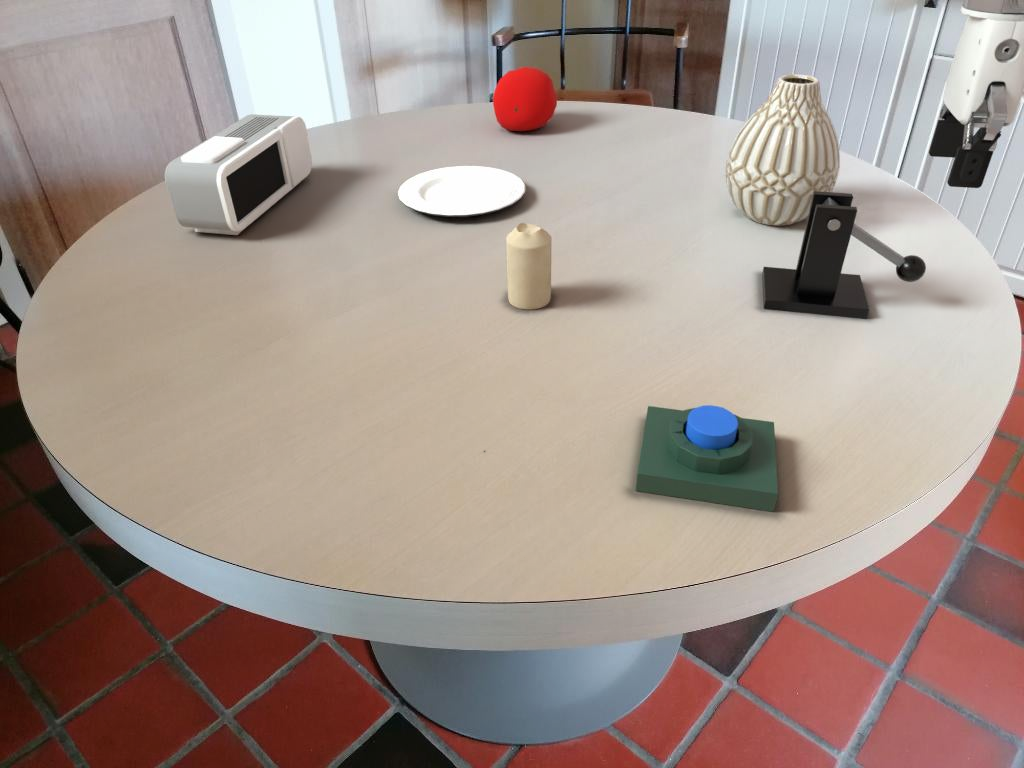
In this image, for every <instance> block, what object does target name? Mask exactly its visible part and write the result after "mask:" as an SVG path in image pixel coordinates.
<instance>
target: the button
mask: <svg viewBox="0 0 1024 768" xmlns="http://www.w3.org/2000/svg"><path fill="white" fill-rule="evenodd" d="M694 408H695V409H693V410H692V411H691V412H690V413H689V415H688V420H687V427H686V435H687V438H688V439H689V440H690V442H692V443H693V444H695V445H697V446H699V447H701V448H704V449H711V450H721V449H725V448H728V447H730V446H731V445H732V444H733V443H734V441H735V438H736V433H737V428H738V421H737V418H736V417H735V415H736V414H734V413H733V412H731V411H729V410H728V409H726V408H724V407H723V406H718V405H713V404H712V405H711V404H708V405H700V406H697V407H694Z"/></svg>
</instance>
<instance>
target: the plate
mask: <svg viewBox="0 0 1024 768" xmlns="http://www.w3.org/2000/svg"><path fill="white" fill-rule="evenodd" d="M525 194H526V184H525V182H524V181H523V180H522V178H520V177H519V176H518V175H516V174H514V173H513V172H509V171H507V170H504V169H501V168H495V167H490V166H479V165H456V166H447V167H440V168H434V169H431V170H427V171H425V172H421V173H418V174H416V175H414V176H412V177H410V178H408V179H407V180H406V181H404V182H403V184H401V185H400V186H399V189H398V192H397V196H398V199H399V201H400V203H402V204H403V205H404V206H406V207H407V208H408V209H411V210H413V211H416V212H418V213H422V214H426V215H430V216H436V217H447V218H470V217H478V216H483V215H486V214H490V213H495V212H500V211H501V210H504V209H506V208H509V207H511V206H513V205H514V204H515V203H517V202H519V201H520V200H521V199H522V198H523V196H524V195H525Z"/></svg>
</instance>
